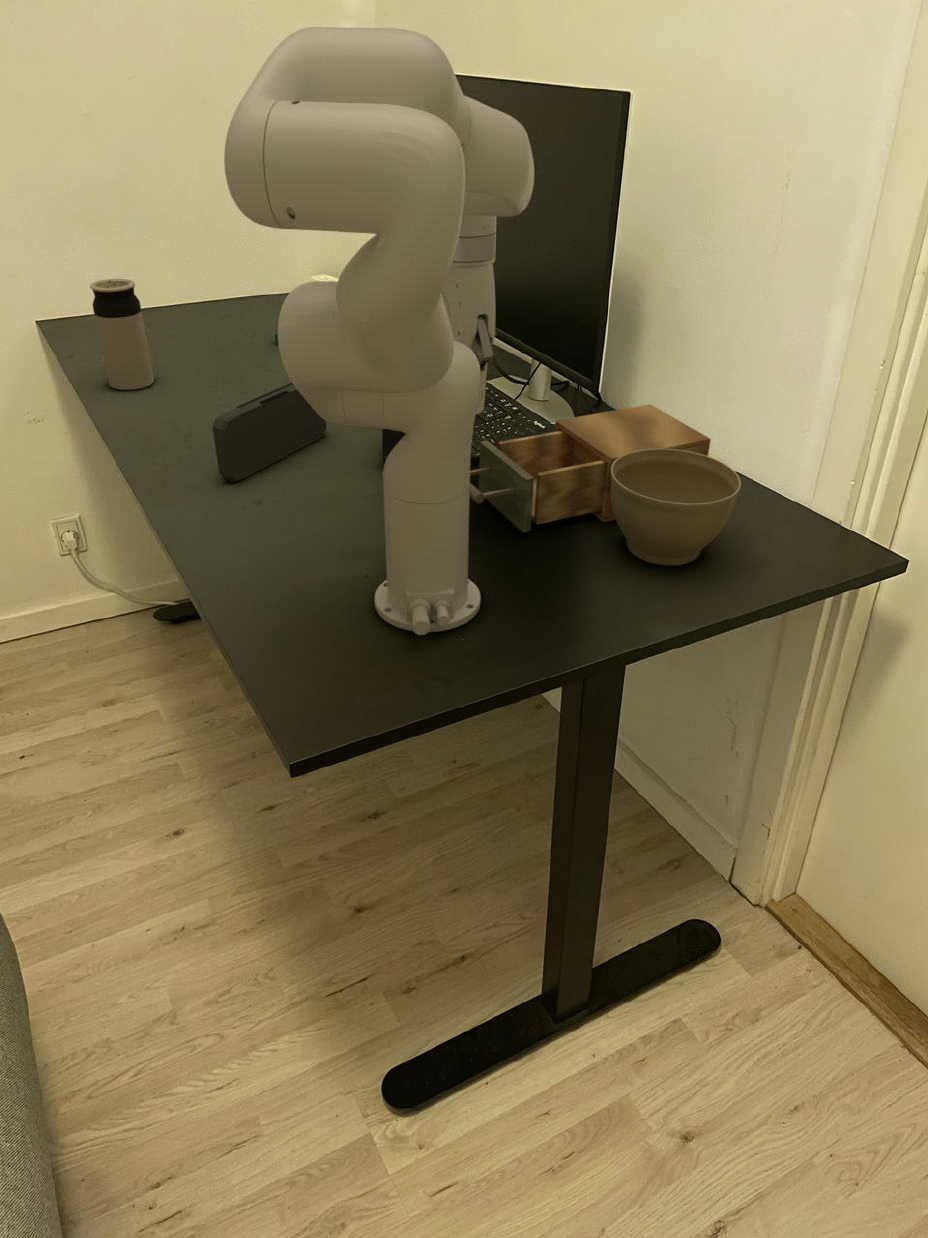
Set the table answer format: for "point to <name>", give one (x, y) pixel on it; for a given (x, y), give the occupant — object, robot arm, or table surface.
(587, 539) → the table surface
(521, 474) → the drawer
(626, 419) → the cabinet
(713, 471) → the planter bowl
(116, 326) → the travel mug
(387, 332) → the robot arm
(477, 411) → the white coffee cup
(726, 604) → the table surface
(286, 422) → the handheld gaming console
